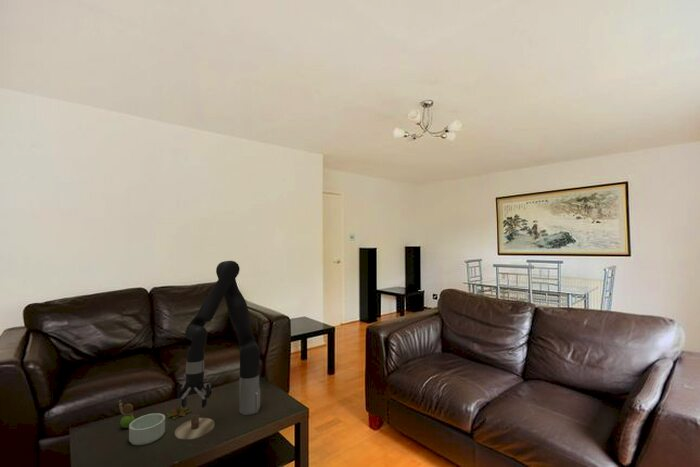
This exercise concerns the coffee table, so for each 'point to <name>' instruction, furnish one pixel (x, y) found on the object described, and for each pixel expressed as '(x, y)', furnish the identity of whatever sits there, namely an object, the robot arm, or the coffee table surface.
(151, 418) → the bowl
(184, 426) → the lid
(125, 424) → the snail figurine
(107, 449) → the coffee table surface
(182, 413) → the lily flower
